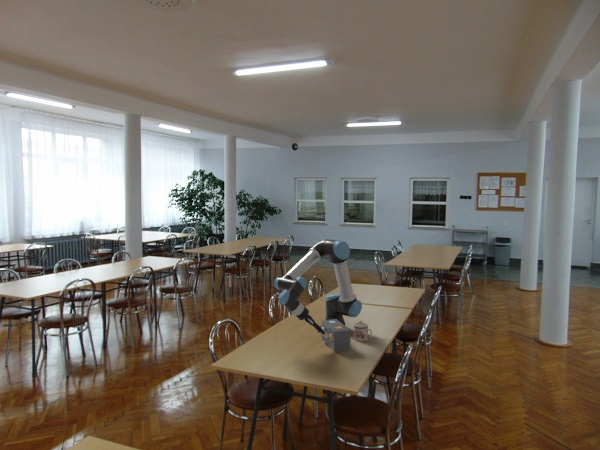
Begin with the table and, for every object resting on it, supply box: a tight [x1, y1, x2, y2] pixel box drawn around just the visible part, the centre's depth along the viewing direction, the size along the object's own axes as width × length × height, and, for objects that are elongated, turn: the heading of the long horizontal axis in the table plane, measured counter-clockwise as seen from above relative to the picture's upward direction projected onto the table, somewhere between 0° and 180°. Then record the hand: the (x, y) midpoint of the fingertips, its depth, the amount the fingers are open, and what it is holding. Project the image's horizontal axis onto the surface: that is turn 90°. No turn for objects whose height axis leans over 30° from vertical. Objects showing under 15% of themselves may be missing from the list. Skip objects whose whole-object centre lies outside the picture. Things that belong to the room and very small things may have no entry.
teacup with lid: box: [353, 320, 373, 342], centre depth 265 cm, size 12×9×12 cm
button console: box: [321, 319, 351, 353], centre depth 257 cm, size 10×24×12 cm, turn 14°
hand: (327, 336), depth 249 cm, fingers closed
